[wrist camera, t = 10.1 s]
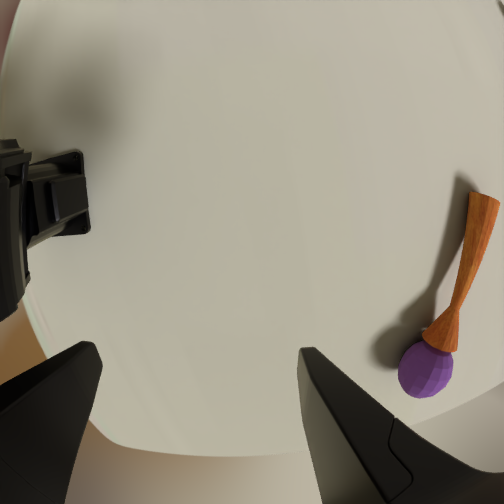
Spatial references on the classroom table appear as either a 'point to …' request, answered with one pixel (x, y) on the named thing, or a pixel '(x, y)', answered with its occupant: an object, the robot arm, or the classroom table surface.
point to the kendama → (449, 309)
